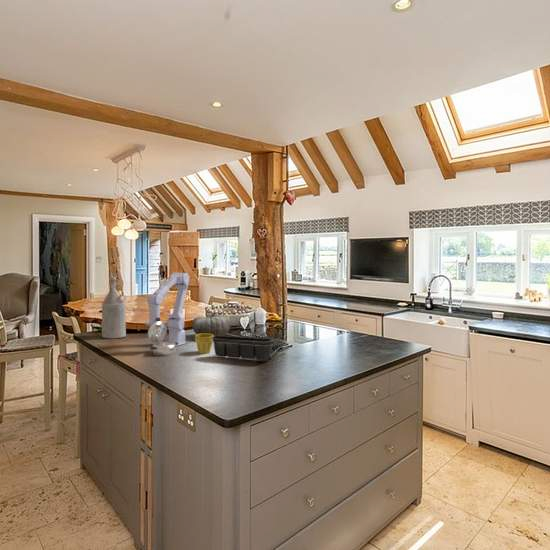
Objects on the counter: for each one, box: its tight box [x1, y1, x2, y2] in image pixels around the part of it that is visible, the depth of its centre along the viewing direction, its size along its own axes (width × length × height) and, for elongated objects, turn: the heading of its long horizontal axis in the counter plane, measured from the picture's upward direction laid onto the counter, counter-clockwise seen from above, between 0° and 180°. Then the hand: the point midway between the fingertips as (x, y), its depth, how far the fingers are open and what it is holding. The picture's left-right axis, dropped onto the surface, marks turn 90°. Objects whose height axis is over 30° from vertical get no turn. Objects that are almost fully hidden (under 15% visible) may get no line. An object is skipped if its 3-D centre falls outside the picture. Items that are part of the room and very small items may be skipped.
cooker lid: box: [147, 316, 168, 344], centre depth 222 cm, size 12×14×1 cm
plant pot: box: [194, 334, 214, 355], centre depth 223 cm, size 10×10×10 cm
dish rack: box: [212, 329, 287, 360], centre depth 226 cm, size 34×44×12 cm
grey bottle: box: [101, 276, 127, 339], centre depth 259 cm, size 13×17×40 cm
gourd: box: [191, 311, 231, 336], centre depth 265 cm, size 25×25×17 cm
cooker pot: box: [149, 341, 179, 357], centre depth 219 cm, size 17×12×5 cm
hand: (154, 339), depth 224 cm, fingers closed
